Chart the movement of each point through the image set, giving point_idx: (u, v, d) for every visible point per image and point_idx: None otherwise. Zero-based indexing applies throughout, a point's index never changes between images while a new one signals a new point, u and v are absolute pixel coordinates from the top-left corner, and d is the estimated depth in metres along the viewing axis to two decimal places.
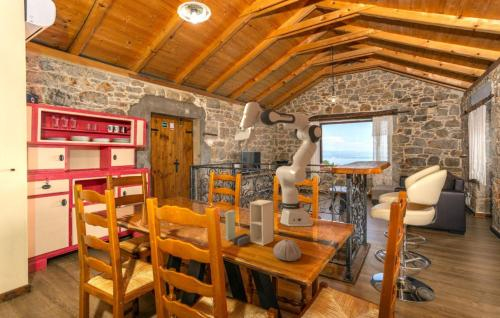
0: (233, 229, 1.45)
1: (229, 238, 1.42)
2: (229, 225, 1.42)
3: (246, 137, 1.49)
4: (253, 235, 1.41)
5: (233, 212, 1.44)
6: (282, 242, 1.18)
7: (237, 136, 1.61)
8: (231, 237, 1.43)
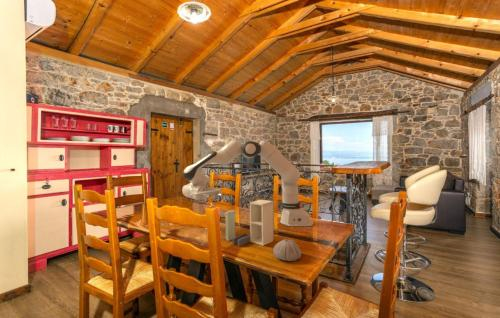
0: (233, 229, 1.45)
1: (229, 238, 1.42)
2: (229, 225, 1.42)
3: (200, 198, 1.50)
4: (253, 235, 1.41)
5: (233, 212, 1.44)
6: (282, 242, 1.18)
7: None
8: (231, 237, 1.43)
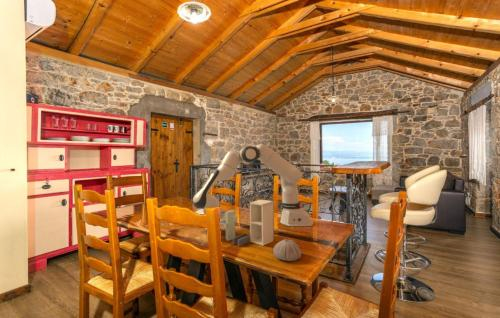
0: (233, 229, 1.45)
1: (229, 238, 1.42)
2: (229, 225, 1.42)
3: None
4: (253, 235, 1.41)
5: (233, 212, 1.44)
6: (282, 242, 1.18)
7: None
8: (231, 237, 1.43)
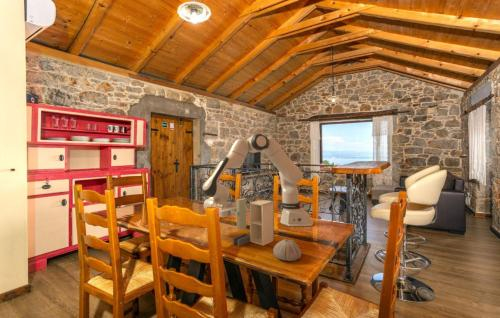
0: (245, 218, 1.39)
1: (240, 227, 1.36)
2: (241, 214, 1.36)
3: None
4: (253, 235, 1.41)
5: (244, 200, 1.38)
6: (282, 242, 1.18)
7: None
8: (242, 226, 1.38)
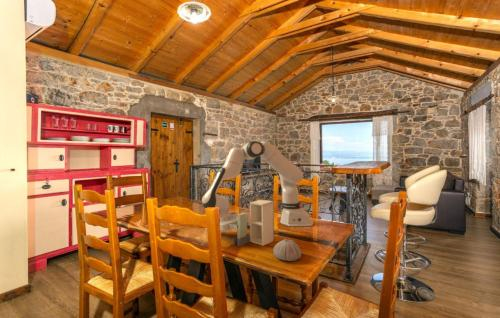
0: (245, 232, 1.39)
1: None
2: (241, 228, 1.36)
3: None
4: (253, 235, 1.41)
5: (245, 215, 1.38)
6: (282, 242, 1.18)
7: None
8: None
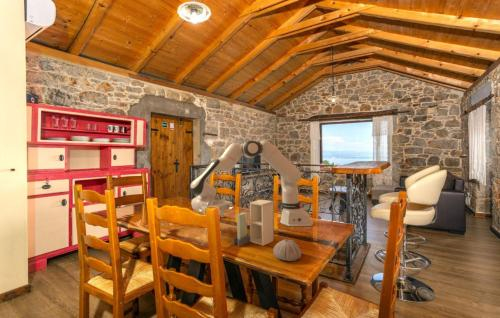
0: (245, 232, 1.39)
1: None
2: (241, 228, 1.36)
3: None
4: (253, 235, 1.41)
5: (245, 215, 1.39)
6: (282, 242, 1.18)
7: None
8: None
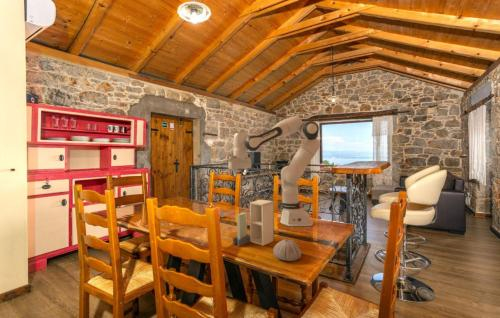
0: (245, 232, 1.39)
1: None
2: (241, 228, 1.36)
3: None
4: (253, 235, 1.41)
5: (245, 215, 1.39)
6: (282, 242, 1.18)
7: None
8: None
